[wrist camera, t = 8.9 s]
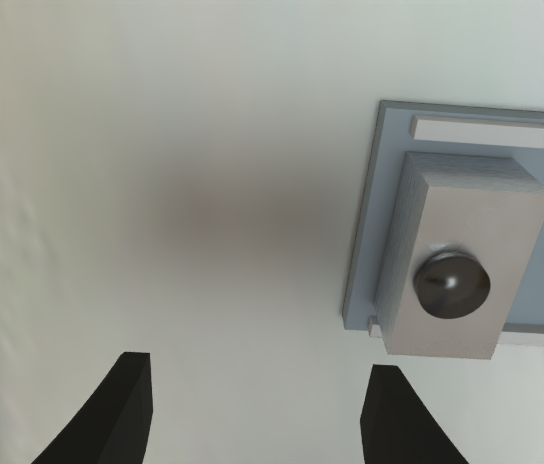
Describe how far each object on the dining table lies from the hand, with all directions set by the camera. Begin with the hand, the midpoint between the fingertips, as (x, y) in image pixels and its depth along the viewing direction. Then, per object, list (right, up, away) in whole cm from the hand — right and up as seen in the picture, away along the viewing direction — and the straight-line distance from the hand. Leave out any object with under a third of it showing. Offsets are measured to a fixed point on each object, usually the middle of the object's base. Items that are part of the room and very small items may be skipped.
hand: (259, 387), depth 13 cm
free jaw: (+7, +4, +8) cm, 11 cm away
